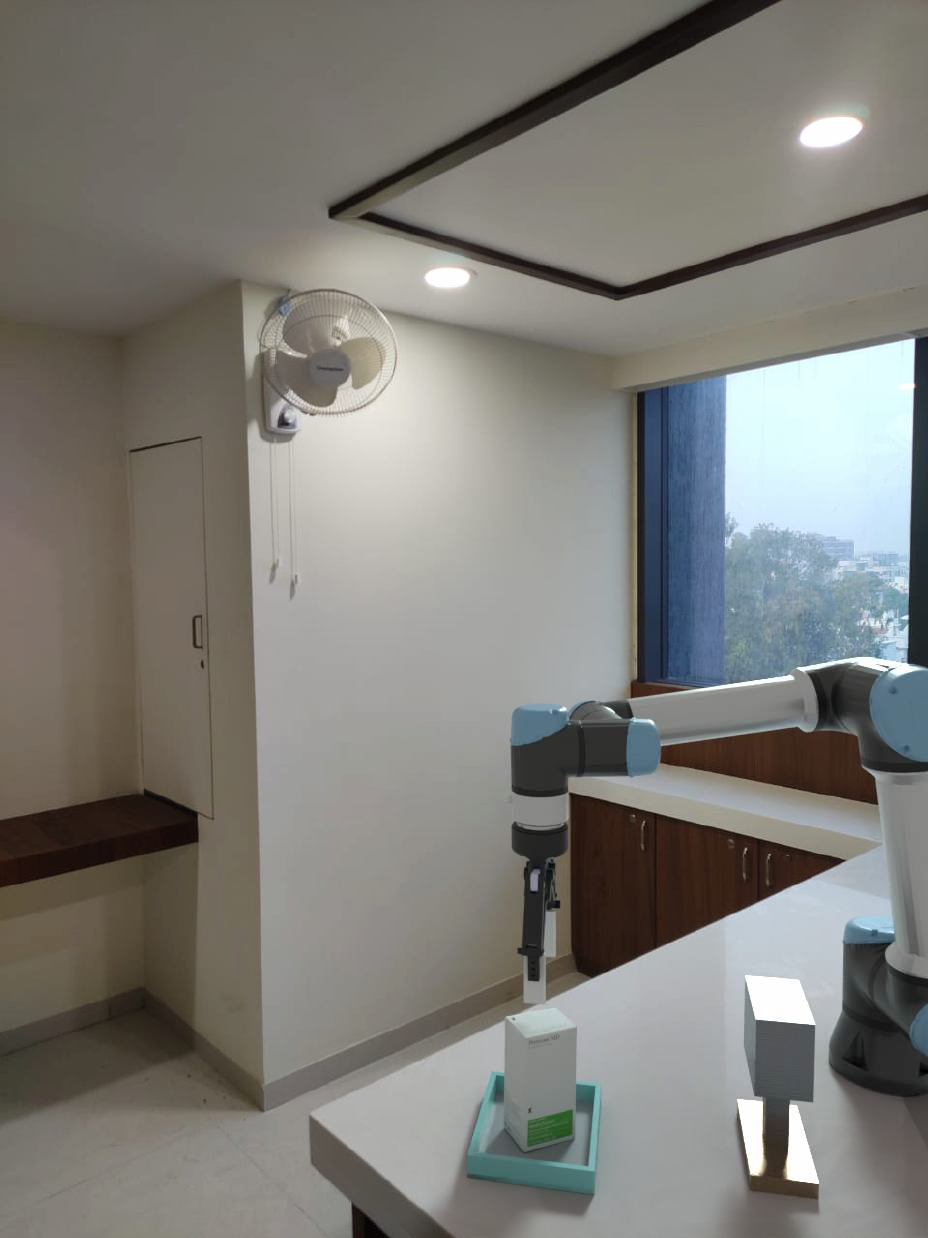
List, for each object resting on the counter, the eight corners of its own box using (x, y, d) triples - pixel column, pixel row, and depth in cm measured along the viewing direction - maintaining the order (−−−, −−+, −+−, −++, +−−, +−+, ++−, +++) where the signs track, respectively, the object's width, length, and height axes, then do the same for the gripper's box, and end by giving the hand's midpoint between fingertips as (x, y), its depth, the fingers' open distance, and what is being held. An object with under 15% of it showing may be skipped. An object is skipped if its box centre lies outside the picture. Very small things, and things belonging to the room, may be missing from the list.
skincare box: (522, 1155, 117) (523, 1039, 116) (500, 1125, 124) (501, 1016, 123) (578, 1138, 121) (579, 1026, 120) (554, 1111, 127) (555, 1004, 126)
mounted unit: (796, 1119, 126) (799, 973, 124) (818, 1199, 110) (822, 1033, 109) (737, 1113, 127) (739, 968, 126) (750, 1190, 112) (753, 1027, 110)
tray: (601, 1103, 129) (601, 1083, 129) (594, 1195, 111) (594, 1171, 111) (491, 1091, 133) (491, 1071, 132) (467, 1178, 114) (467, 1155, 114)
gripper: (523, 796, 132) (524, 937, 133) (496, 850, 107) (498, 1022, 109) (575, 798, 130) (575, 940, 132) (559, 853, 106) (560, 1028, 107)
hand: (540, 978), depth 120 cm, fingers open, 13 cm apart
